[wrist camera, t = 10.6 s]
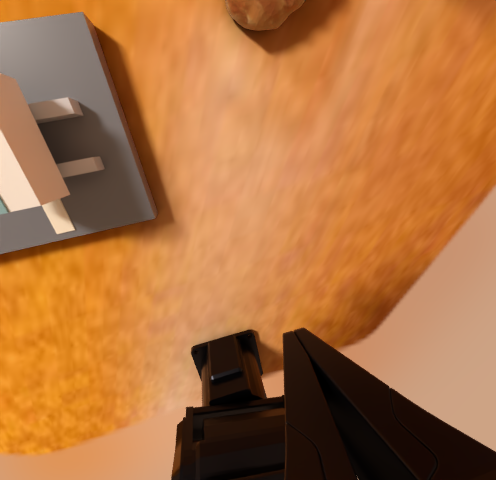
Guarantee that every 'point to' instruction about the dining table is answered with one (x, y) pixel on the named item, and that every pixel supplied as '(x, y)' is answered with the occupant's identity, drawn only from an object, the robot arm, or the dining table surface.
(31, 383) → the dining table surface
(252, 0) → the pastry
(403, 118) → the dining table surface
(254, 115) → the dining table surface
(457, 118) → the dining table surface
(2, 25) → the grey slider panel
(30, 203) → the block
